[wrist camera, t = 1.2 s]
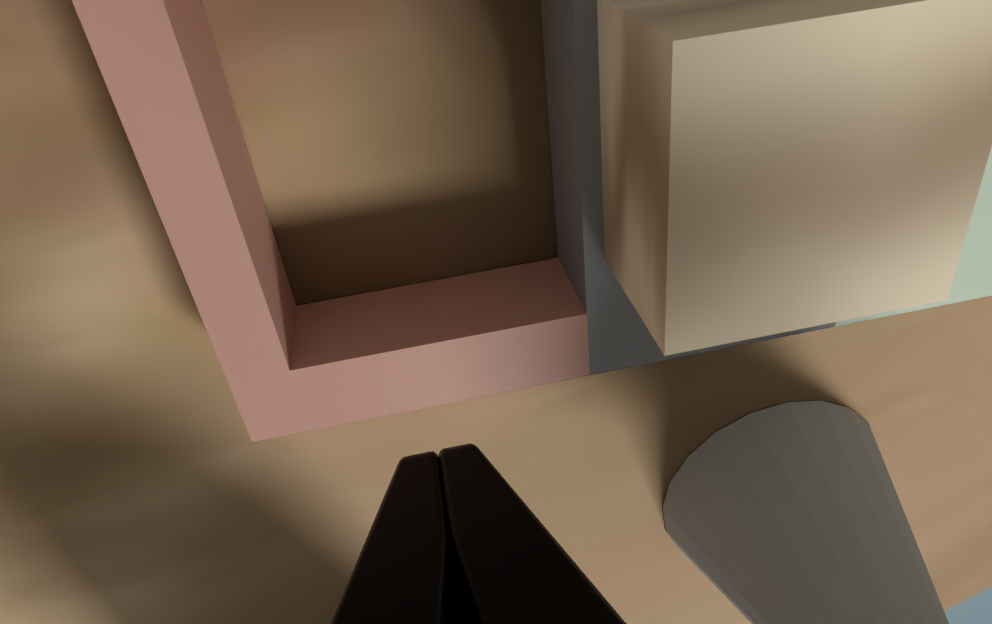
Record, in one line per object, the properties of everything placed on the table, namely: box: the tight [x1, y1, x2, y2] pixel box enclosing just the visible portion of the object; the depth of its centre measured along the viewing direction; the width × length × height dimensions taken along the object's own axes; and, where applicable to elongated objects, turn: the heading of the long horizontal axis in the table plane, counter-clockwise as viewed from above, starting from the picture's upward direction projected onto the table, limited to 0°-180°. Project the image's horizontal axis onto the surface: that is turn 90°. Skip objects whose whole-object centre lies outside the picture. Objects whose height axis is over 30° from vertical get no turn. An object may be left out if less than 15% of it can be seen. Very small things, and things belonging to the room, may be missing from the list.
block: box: [597, 0, 992, 356], centre depth 15 cm, size 6×6×4 cm
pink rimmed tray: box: [72, 0, 992, 442], centre depth 18 cm, size 13×34×3 cm, turn 96°
